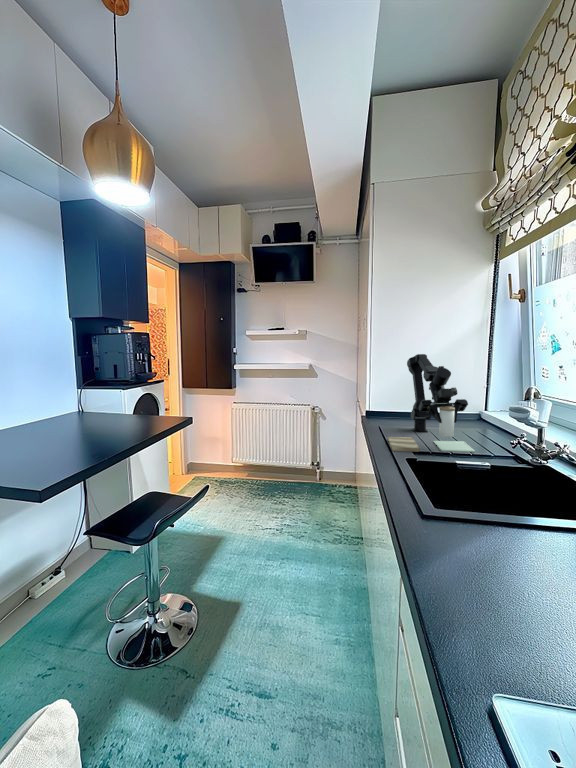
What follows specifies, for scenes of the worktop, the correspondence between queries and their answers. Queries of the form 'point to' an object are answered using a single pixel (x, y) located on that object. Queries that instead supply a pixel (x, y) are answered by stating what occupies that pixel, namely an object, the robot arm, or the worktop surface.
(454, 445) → the mat
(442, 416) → the jar
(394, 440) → the board
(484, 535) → the worktop surface
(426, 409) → the robot arm
